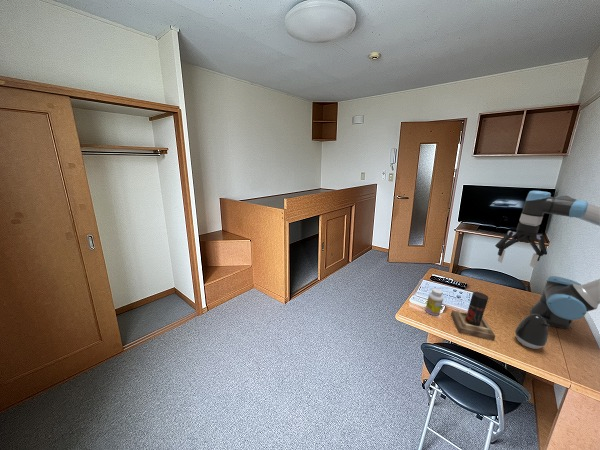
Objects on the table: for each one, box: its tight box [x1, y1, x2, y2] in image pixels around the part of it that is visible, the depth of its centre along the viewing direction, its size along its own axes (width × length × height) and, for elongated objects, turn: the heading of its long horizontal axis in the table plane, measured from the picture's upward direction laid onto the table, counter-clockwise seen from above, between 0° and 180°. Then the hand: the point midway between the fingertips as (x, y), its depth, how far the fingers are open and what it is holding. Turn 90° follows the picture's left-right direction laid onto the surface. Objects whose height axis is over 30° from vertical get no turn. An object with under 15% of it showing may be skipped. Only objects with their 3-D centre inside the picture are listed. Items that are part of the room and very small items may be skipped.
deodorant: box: [465, 291, 489, 326], centre depth 115 cm, size 6×6×15 cm
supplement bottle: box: [425, 287, 444, 316], centre depth 126 cm, size 7×7×13 cm
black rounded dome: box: [514, 313, 551, 350], centre depth 106 cm, size 10×10×15 cm
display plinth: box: [450, 310, 496, 341], centre depth 118 cm, size 14×14×4 cm
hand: (515, 264), depth 122 cm, fingers open, 13 cm apart
